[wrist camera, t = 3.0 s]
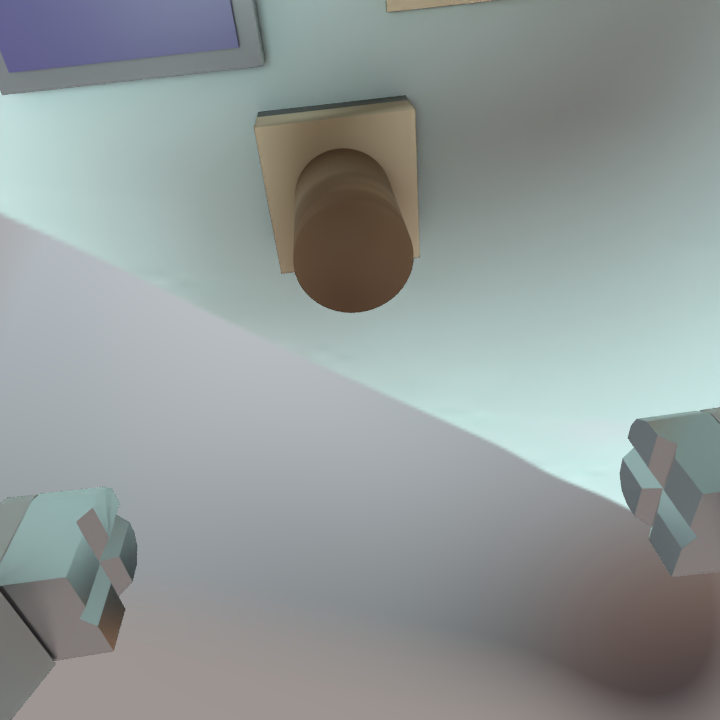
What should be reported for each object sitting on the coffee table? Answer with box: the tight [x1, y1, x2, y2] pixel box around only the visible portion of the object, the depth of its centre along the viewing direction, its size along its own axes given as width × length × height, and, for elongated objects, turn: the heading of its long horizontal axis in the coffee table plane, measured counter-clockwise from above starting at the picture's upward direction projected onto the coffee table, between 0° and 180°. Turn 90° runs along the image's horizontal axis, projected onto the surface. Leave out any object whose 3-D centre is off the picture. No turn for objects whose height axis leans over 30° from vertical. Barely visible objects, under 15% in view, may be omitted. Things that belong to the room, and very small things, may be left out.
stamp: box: [254, 95, 420, 313], centre depth 18 cm, size 5×5×7 cm
